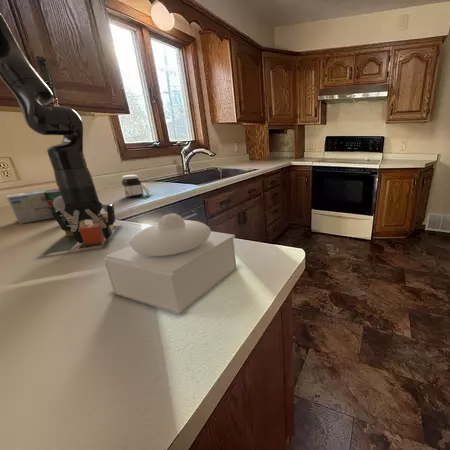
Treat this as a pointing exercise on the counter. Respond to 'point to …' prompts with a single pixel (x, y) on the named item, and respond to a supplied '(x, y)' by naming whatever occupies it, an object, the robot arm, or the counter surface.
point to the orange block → (92, 234)
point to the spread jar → (133, 186)
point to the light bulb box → (30, 206)
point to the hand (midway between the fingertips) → (94, 240)
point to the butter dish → (171, 263)
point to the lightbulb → (60, 205)
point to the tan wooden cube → (70, 233)
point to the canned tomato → (52, 197)
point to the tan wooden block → (106, 220)
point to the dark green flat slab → (71, 244)
